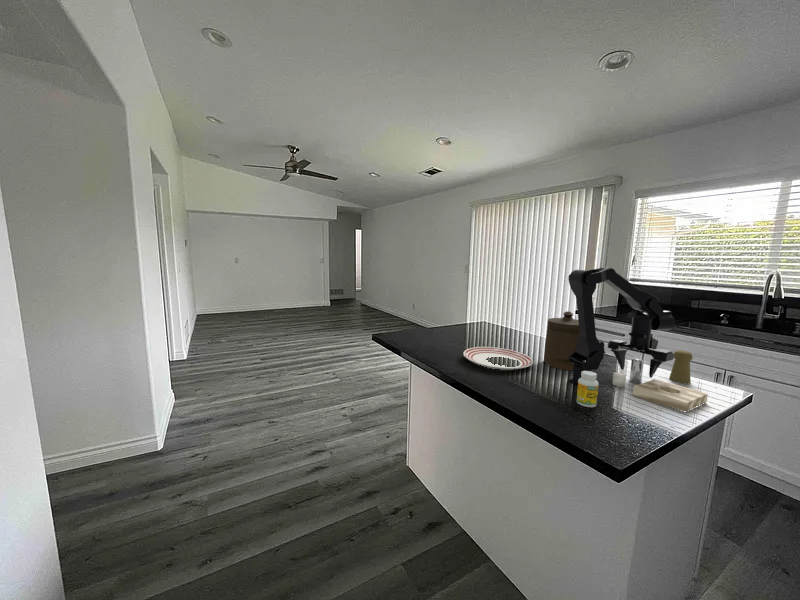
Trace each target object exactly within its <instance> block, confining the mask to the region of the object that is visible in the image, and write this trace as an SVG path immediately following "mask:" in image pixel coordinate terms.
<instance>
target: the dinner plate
mask: <svg viewBox="0 0 800 600" xmlns="http://www.w3.org/2000/svg"><path fill="white" fill-rule="evenodd" d="M462 354H463V357H464V358H465V359H467V360H468V361H470V362H471V363H474V364H475V365H478V366H480V365H481V366H480V367H482V366H484V367H483V368H485V367H487V368H486V369H489V368H492V369H491V370H494V369H500V370H499V371H513V370H514V369H515V370H519V369H525V368H528V367H530V366H532V365H533V364H534V360H533V358H532V357H530V356H528V355H527V354H525V353H523V352H520V351H517V350H512V349H509V348H502V347H495V346H476V347H470V348H467V349H465V350H464V351H463V353H462ZM488 357H489V358H491V357H502V358H503V357H504V358H509V359H513V360H518V361H519V362H520V363H521V364H520V365H519V366H516V367H507V366H506V367H505V365H502V366H500V365H498V364H495V365H494V364H492V363H491V362H488V360H486V359H487V358H488ZM515 370H514V371H515Z"/></svg>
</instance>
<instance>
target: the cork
mask: <svg viewBox="0 0 800 600" xmlns="http://www.w3.org/2000/svg"><path fill="white" fill-rule="evenodd" d="M673 354H674V358H673V359H674V362H673V364H672V369H671V372H670V375H669V378H668V379H669V380H670V381H671V380H673V381H672V382H674V381H675V382H674V383H677V382H679V383H678V384H682V383H686V384H685V385H688V383H690V384H691V361H692V360H693V354H692V353H691V352H689V351H686V350H682V349H681V350H678V349H677V350H675V351H673Z"/></svg>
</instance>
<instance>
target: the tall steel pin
mask: <svg viewBox="0 0 800 600" xmlns="http://www.w3.org/2000/svg"><path fill="white" fill-rule="evenodd" d="M630 362H631V363H630V371H629V372H630V373H629V382H630V383H633V384H637V385H638V384H642V379H643V371H644V362H645V361H644V360H643V359H640V358H631V361H630Z"/></svg>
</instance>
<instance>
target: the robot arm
mask: <svg viewBox="0 0 800 600" xmlns="http://www.w3.org/2000/svg"><path fill="white" fill-rule="evenodd" d="M568 283H569V287H570V290H571V291H572V293H573V295H574V296H575V301H576V310H577V320H578V321H579V331H580V338H579V340H578V342H577V346H576V350H575V351H574V352H573V353H572V354H571V355H570V356H569V361H570V362H571V363H573V364H574V366H573V371H572V376H571V377H572V378H569V379H567V382H569V383H572V384H574V385H576V386H578V380H579V379H580V378H582V377H581V372H582V371H591V372H594V371H596V370H598V369H599V367H600V365H601V363H602V360H604V358H605V354H606V350H605V342H604V341H602V340H599V339H598V337H597V333H596V332H597V330H596V322H595V321H596V320H595V310H594V302H593V301H594V300H593V296H594V293H595V292H596V289H597V284H601V283H606V284H607V285H608V286H610V287H611V288H612V289H614V290H615V291H617V292H618V293H619V294H621V296H623V297H624V298H625V299H626V303H627V304H628V305H629V306H630V307H631V308H632V309H633V310H631V311H630V312H628V314H626V316H627V317H628V318H632V319H631V329H630V332H628V336H630V337H629V343H628V342H627V341H626V340H621V339H611V340H609V341H608V342H607V349H610V351H611V352H613V354H614V356H615V359H616V360H617V362H618V365H619V367H620V369H621V370H622V371H623V370H624V369H625V365H626V364H625V362H626V353H627V351H631V352H632V351H633V352H635V353H640V354H644V355H648V356H651V357H652V358H651V359H650V362H649V370H648V372H649V373H648V375H649V378H653V377H654V375H655V373H656V371H657V370H658V369H659V367H660V366H661V365H662V363H667V362H669V361H673V360H674V359H675V358H674V351H672V350H667V349H663V348H658V344H659V340H657V339H655V338H654V335H653V333H652V331H671V330H673V329H674V328H675V327H676V320H675V317H674V316H673V315H672V311H670V310H663V308H662V306H661V304H660V303H659V302H660V301H659V298H658V297H657V296H656V295H653V294H652V293H649V292H647V291H644V290H641V289H639V288H637V287H636V286H635V285H634V284H632V283H631V282H629V280H627V279H626V278H625V277H623V276H622V275H621V274H619V273H618V272H617V271H616V270H615V269H614V268H613V267H604V266H602V267H598V268H593V269H586V270H585V269H575V270H572V272H570V274H569V275H568ZM583 360H585V362H584V361H583Z"/></svg>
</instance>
